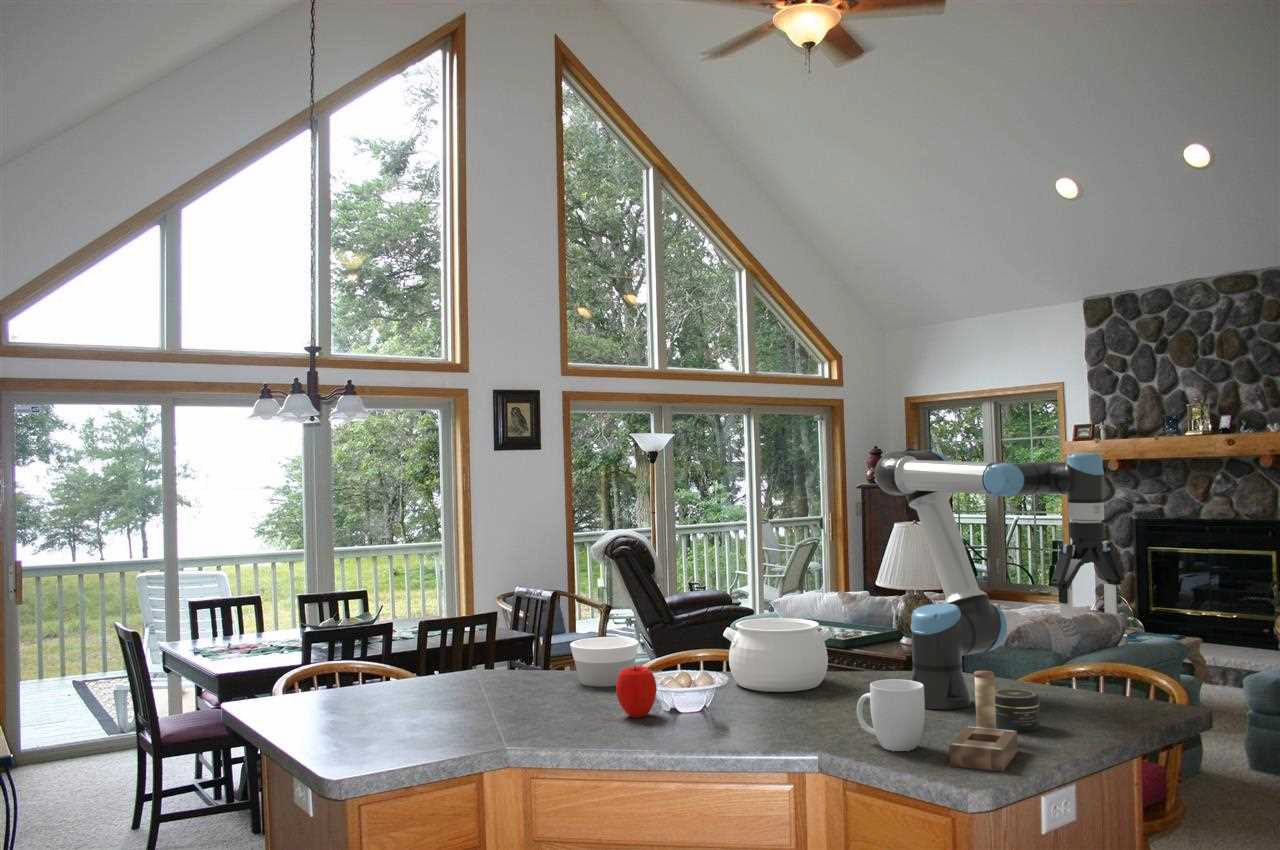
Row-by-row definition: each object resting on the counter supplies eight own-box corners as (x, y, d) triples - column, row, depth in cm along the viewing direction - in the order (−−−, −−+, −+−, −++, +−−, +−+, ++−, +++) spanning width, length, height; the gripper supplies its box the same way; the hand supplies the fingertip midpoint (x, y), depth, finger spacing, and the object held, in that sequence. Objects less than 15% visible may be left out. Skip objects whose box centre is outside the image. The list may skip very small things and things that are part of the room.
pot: (836, 675, 296) (834, 617, 297) (831, 696, 271) (829, 632, 271) (731, 673, 303) (729, 616, 304) (717, 693, 277) (715, 631, 278)
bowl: (569, 676, 305) (568, 638, 306) (636, 673, 307) (635, 635, 308) (572, 690, 286) (571, 650, 287) (643, 686, 288) (642, 646, 289)
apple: (632, 709, 262) (631, 659, 263) (666, 714, 257) (664, 663, 257) (608, 717, 254) (607, 666, 255) (642, 722, 248) (640, 670, 249)
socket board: (949, 765, 208) (949, 744, 208) (967, 745, 222) (966, 725, 222) (1003, 771, 203) (1002, 749, 203) (1017, 750, 217) (1017, 730, 217)
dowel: (974, 740, 226) (972, 673, 226) (978, 735, 230) (976, 670, 230) (994, 742, 224) (992, 675, 225) (998, 737, 228) (996, 671, 228)
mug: (845, 746, 223) (843, 684, 224) (870, 735, 232) (868, 675, 232) (911, 758, 214) (909, 692, 214) (935, 746, 222) (933, 682, 223)
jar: (1050, 730, 232) (1048, 695, 232) (1010, 735, 229) (1009, 699, 229) (1021, 720, 242) (1020, 686, 242) (983, 724, 239) (981, 690, 239)
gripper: (1058, 524, 232) (1060, 622, 232) (1139, 519, 243) (1142, 613, 242) (1032, 522, 239) (1034, 617, 239) (1112, 518, 250) (1115, 608, 249)
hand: (1088, 615), depth 241 cm, fingers open, 13 cm apart
